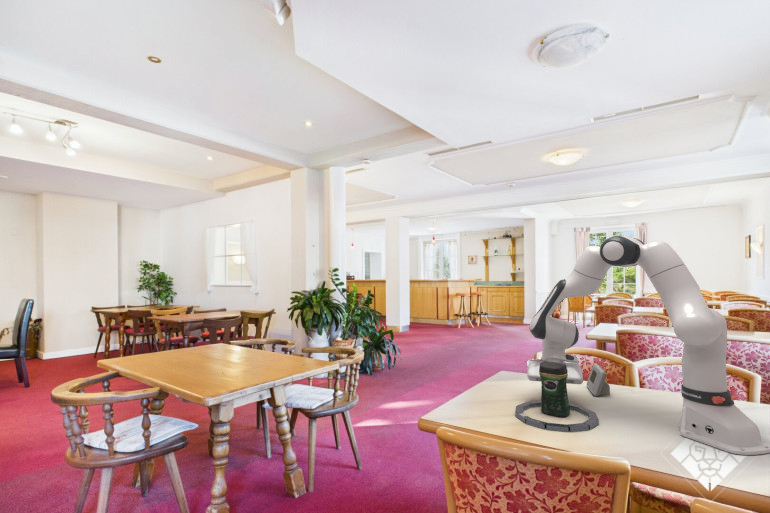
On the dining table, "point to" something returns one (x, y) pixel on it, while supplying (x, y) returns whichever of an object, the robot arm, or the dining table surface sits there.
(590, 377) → the digital clock
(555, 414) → the coffee jar
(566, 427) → the grey segmented ring
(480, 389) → the dining table surface
